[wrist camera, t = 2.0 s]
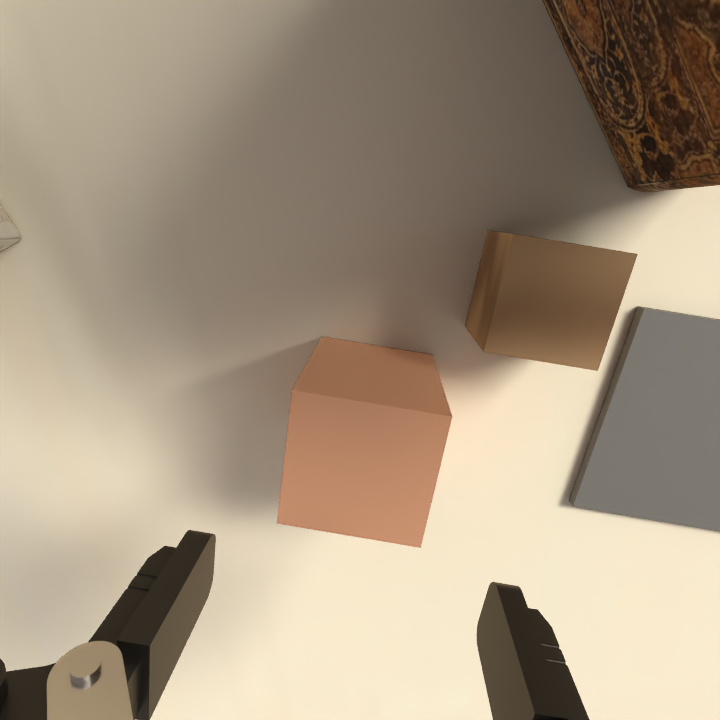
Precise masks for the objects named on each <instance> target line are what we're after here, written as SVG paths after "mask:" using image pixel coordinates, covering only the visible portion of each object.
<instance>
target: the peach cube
mask: <svg viewBox="0 0 720 720" xmlns="http://www.w3.org/2000/svg"><path fill="white" fill-rule="evenodd" d="M451 419H452V415H451V412H450V408H449V405H448V402H447V399H446V396H445V393H444V390H443V387H442V383H441V380H440V377H439V374H438V371H437V368H436V365H435V361H434V358H433V355H430V354H424V353H418V352H412V351H406V350H400V349H394V348H388V347H382V346H375V345H369V344H363V343H357V342H351V341H345V340H339V339H333V338H327V337H321V339H320V341H319V343H318V344H317V346H316V348H315V350H314V352H313V353H312V355H311V357H310V359H309V361H308V362H307V364H306V366H305V368H304V370H303V371H302V373H301V375H300V377H299V379H298V380H297V382H296V384H295V386H294V388H293V389H292V396H291V405H290V413H289V422H288V431H287V440H286V448H285V457H284V466H283V475H282V483H281V492H280V501H279V510H278V518H277V523H278V524H284V525H290V526H296V527H302V528H308V529H313V530H319V531H325V532H331V533H337V534H343V535H349V536H355V537H361V538H367V539H372V540H378V541H384V542H390V543H396V544H402V545H408V546H414V547H420V548H421V544H422V540H423V535H424V531H425V527H426V523H427V519H428V515H429V510H430V506H431V502H432V498H433V494H434V490H435V486H436V481H437V477H438V473H439V469H440V465H441V461H442V457H443V452H444V448H445V444H446V440H447V436H448V432H449V427H450V423H451Z"/></svg>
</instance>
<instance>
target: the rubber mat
mask: <svg viewBox="0 0 720 720" xmlns="http://www.w3.org/2000/svg"><path fill="white" fill-rule="evenodd" d="M569 501H570V503H571V504H572V506H573V507H579V508H585V509H591V510H597V511H602V512H608V513H614V514H620V515H626V516H632V517H638V518H644V519H650V520H656V521H662V522H668V523H674V524H680V525H686V526H692V527H698V528H704V529H710V530H715V531H720V320H719V319H713V318H707V317H701V316H694V315H688V314H682V313H676V312H670V311H664V310H658V309H652V308H645V307H639V306H638V308H637V310H636V313H635V316H634V319H633V322H632V324H631V327H630V330H629V333H628V336H627V339H626V341H625V344H624V347H623V350H622V353H621V355H620V358H619V361H618V364H617V367H616V370H615V372H614V375H613V378H612V381H611V384H610V386H609V389H608V392H607V395H606V398H605V401H604V403H603V406H602V409H601V412H600V415H599V417H598V420H597V423H596V426H595V429H594V432H593V434H592V437H591V440H590V443H589V446H588V448H587V451H586V454H585V457H584V460H583V463H582V465H581V468H580V471H579V474H578V477H577V479H576V482H575V485H574V488H573V491H572V494H571V496H570V499H569Z"/></svg>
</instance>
